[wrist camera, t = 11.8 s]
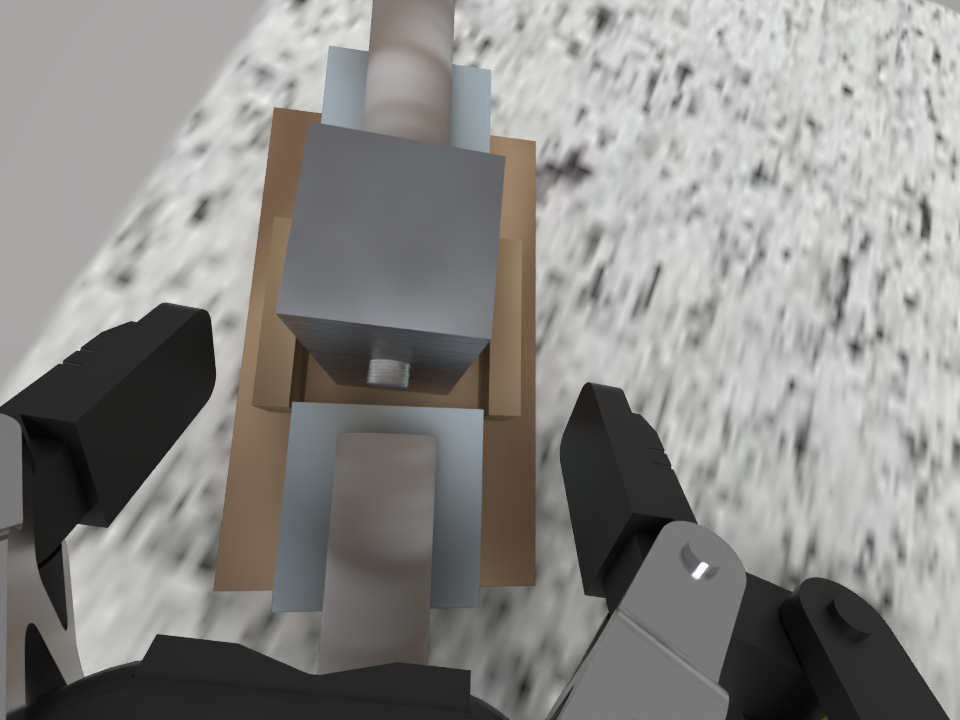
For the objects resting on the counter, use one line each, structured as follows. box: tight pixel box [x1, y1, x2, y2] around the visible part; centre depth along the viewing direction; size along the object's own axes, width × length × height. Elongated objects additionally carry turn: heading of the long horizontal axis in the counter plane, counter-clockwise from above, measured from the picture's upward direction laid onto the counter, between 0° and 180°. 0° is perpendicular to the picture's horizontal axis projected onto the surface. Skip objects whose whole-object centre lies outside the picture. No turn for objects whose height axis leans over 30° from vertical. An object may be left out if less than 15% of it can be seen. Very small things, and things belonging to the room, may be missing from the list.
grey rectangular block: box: [275, 121, 506, 396], centre depth 15 cm, size 4×6×10 cm
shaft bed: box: [213, 0, 536, 675], centre depth 17 cm, size 12×21×8 cm, turn 178°
